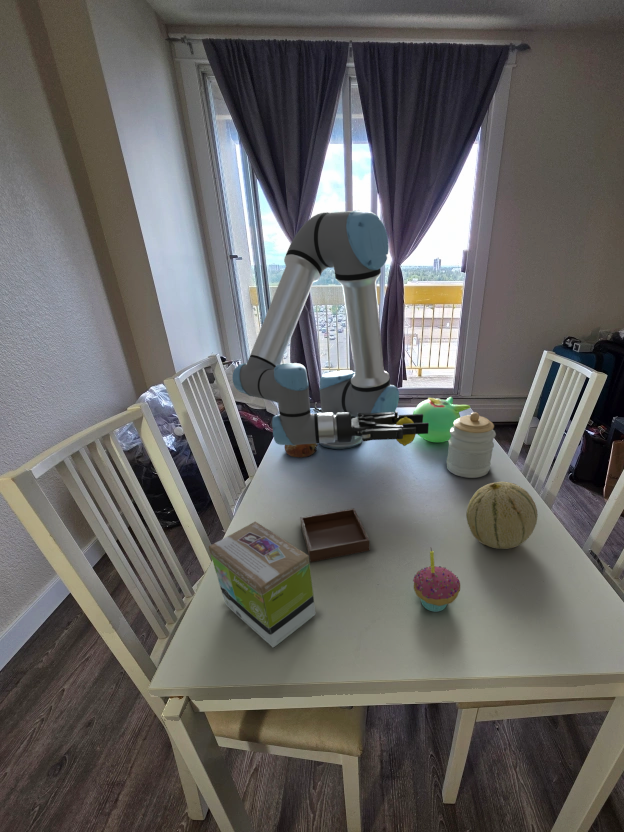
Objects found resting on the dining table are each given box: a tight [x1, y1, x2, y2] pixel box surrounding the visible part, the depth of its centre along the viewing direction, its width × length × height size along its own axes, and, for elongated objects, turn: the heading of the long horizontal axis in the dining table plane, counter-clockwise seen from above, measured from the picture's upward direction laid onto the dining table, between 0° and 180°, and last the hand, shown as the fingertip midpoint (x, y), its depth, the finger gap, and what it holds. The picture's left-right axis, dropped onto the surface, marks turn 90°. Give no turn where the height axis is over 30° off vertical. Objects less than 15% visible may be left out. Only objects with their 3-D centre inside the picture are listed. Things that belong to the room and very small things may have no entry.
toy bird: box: [412, 396, 471, 444], centre depth 138 cm, size 18×17×15 cm
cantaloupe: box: [466, 481, 538, 550], centre depth 89 cm, size 15×15×15 cm
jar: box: [446, 411, 497, 479], centre depth 118 cm, size 13×13×18 cm
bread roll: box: [284, 443, 319, 458], centre depth 132 cm, size 10×10×8 cm
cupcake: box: [412, 547, 461, 613], centre depth 74 cm, size 9×8×12 cm
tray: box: [299, 507, 371, 563], centre depth 93 cm, size 13×13×3 cm
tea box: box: [208, 521, 316, 648], centre depth 71 cm, size 15×10×15 cm
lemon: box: [395, 417, 417, 447], centre depth 106 cm, size 6×6×8 cm
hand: (425, 423), depth 106 cm, fingers closed on lemon, 5 cm apart
